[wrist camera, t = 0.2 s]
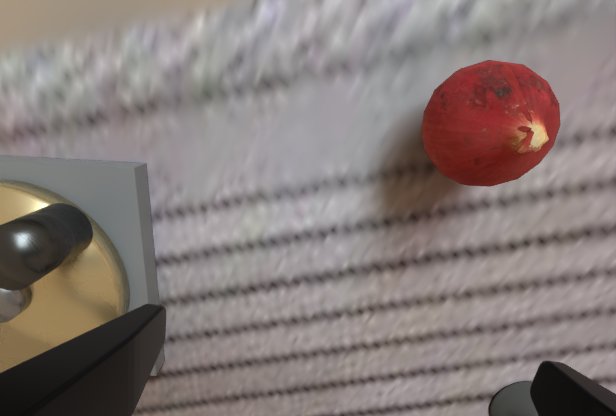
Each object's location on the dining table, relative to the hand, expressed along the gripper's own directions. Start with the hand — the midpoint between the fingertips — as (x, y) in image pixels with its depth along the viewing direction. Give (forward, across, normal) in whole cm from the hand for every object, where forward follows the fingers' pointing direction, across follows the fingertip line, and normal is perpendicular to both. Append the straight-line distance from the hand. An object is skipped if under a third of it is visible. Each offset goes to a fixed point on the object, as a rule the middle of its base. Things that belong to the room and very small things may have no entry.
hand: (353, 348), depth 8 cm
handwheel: (+12, +18, +8) cm, 24 cm away
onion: (+14, -6, -6) cm, 17 cm away
